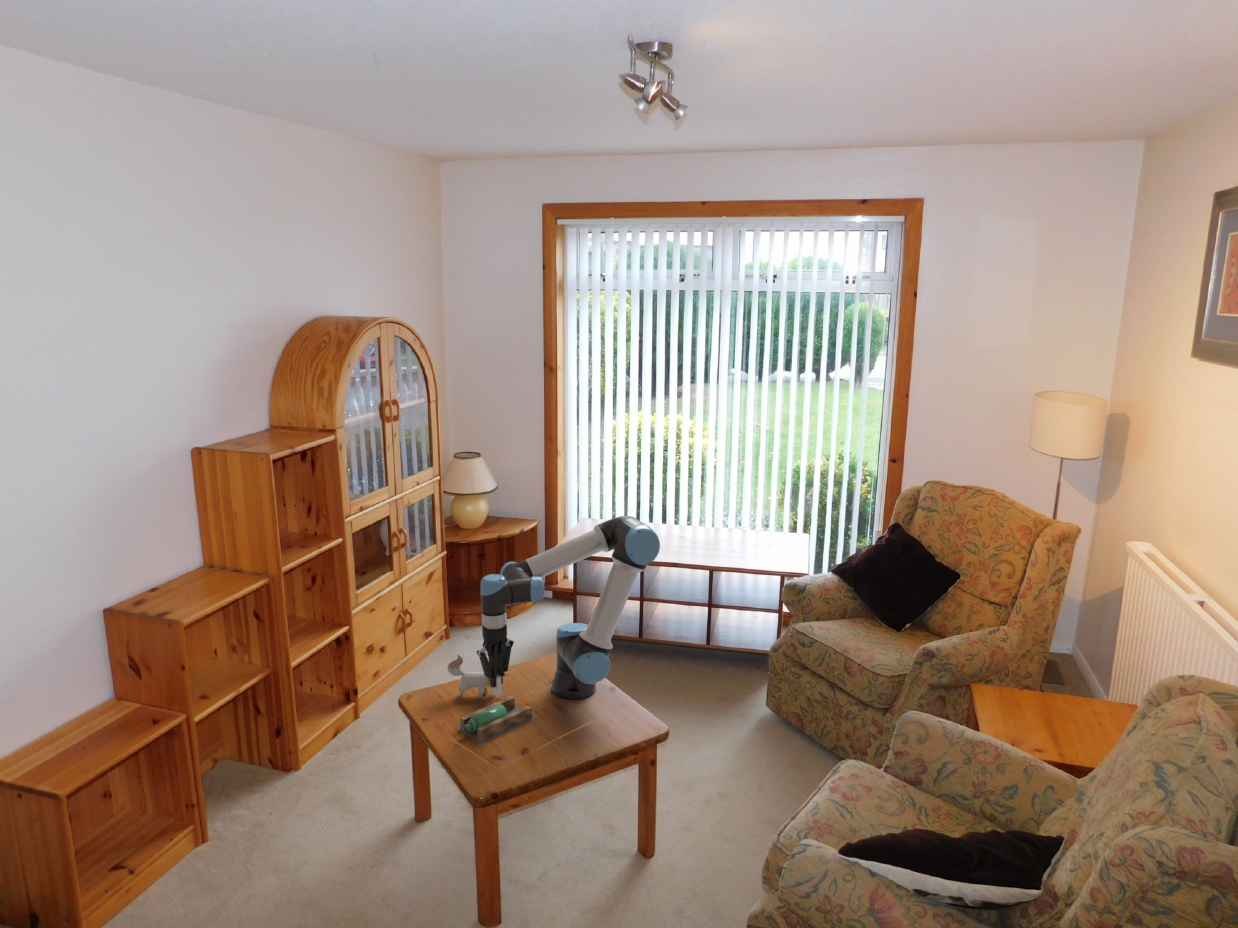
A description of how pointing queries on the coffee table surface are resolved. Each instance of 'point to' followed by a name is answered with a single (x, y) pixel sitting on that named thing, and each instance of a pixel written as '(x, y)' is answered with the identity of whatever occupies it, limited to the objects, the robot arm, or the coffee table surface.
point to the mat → (474, 735)
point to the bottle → (484, 718)
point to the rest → (502, 722)
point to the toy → (469, 678)
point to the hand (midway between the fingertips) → (497, 694)
